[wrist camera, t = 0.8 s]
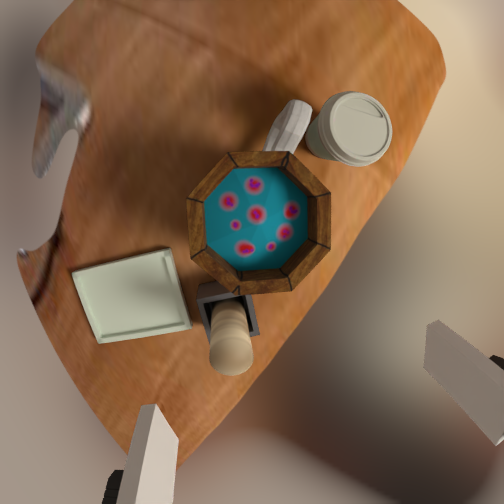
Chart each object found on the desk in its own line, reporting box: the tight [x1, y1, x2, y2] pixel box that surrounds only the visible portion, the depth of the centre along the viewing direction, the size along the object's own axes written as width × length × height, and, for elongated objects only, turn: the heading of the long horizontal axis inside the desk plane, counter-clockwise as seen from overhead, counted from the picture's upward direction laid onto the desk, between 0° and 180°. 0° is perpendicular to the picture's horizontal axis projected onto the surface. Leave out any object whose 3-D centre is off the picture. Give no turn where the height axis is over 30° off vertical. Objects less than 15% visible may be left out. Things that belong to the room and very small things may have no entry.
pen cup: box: [196, 281, 260, 344], centre depth 40 cm, size 7×7×6 cm
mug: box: [186, 99, 331, 296], centre depth 32 cm, size 20×14×15 cm
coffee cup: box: [305, 91, 392, 167], centre depth 33 cm, size 8×9×12 cm
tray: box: [71, 248, 193, 344], centre depth 40 cm, size 12×16×1 cm
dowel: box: [209, 296, 253, 375], centre depth 35 cm, size 4×4×14 cm
